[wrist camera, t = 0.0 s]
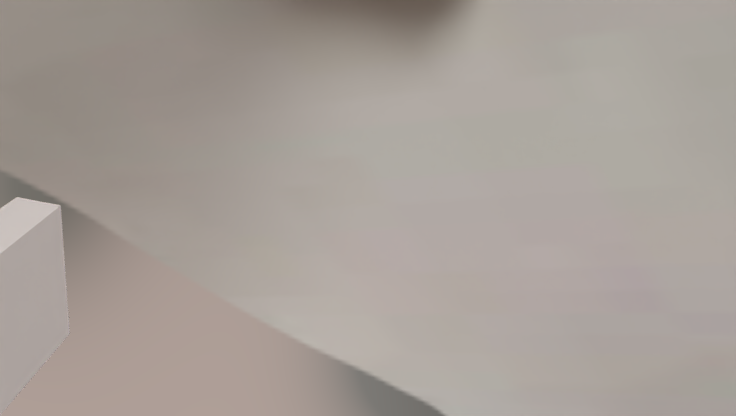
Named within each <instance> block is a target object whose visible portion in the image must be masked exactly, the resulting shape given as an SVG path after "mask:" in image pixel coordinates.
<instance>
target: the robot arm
mask: <svg viewBox="0 0 736 416" xmlns="http://www.w3.org/2000/svg"><path fill="white" fill-rule="evenodd" d="M69 334H70V331H69V316H68V302H67V288H66V274H65V259H64V244H63V230H62V216H61V205H56V204H51V203H45V202H40V201H34V200H29V199H24V198H19V197H16V198H15V199H13V200H12V201H11V202H9V203H8V204H6V205H5V206H3V207H2V208H1V209H0V415H1V414H2V413H3V411H4V410H5V409H6V408H7V407H8V406H9V404H10V403H11V402H12V401H13V400H14V399H15V397H16V396H17V395H18V394H19V393H20V392H21V390H22V389H23V388H24V387H25V386H26V385H27V383H28V382H29V381H30V380H31V379H32V377H33V376H34V375H35V374H36V373H37V371H38V370H39V369H40V368H41V367H42V366H43V365H44V363H45V362H46V361H47V360H48V359H49V357H50V356H51V355H52V354H53V353H54V351H55V350H56V349H57V348H58V347H59V346H60V344H61V343H62V342H63V341H64V340H65V339H66V338H67V336H68V335H69Z"/></svg>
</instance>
